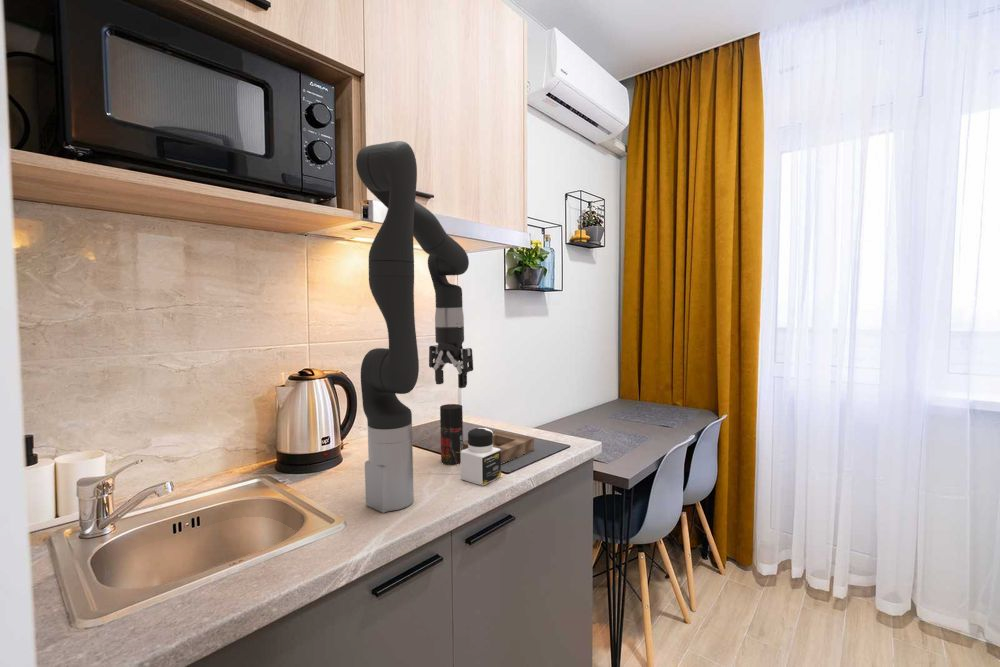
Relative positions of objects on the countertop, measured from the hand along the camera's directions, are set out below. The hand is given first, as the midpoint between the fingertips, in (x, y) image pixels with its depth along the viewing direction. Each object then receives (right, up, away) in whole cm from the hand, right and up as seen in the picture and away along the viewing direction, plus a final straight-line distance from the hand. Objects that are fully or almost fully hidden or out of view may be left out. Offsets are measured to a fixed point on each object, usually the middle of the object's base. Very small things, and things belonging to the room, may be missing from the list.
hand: (450, 385), depth 125 cm
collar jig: (+12, -20, +8) cm, 25 cm away
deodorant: (0, -21, +2) cm, 21 cm away
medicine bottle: (+8, -22, -10) cm, 25 cm away
